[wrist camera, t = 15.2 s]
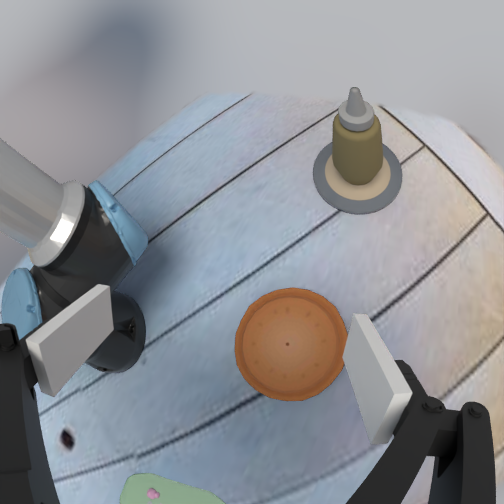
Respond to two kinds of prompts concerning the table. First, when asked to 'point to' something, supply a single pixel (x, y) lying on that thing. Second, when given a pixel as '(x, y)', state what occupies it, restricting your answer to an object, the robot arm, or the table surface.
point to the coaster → (357, 196)
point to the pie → (290, 344)
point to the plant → (163, 492)
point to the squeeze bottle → (357, 140)
